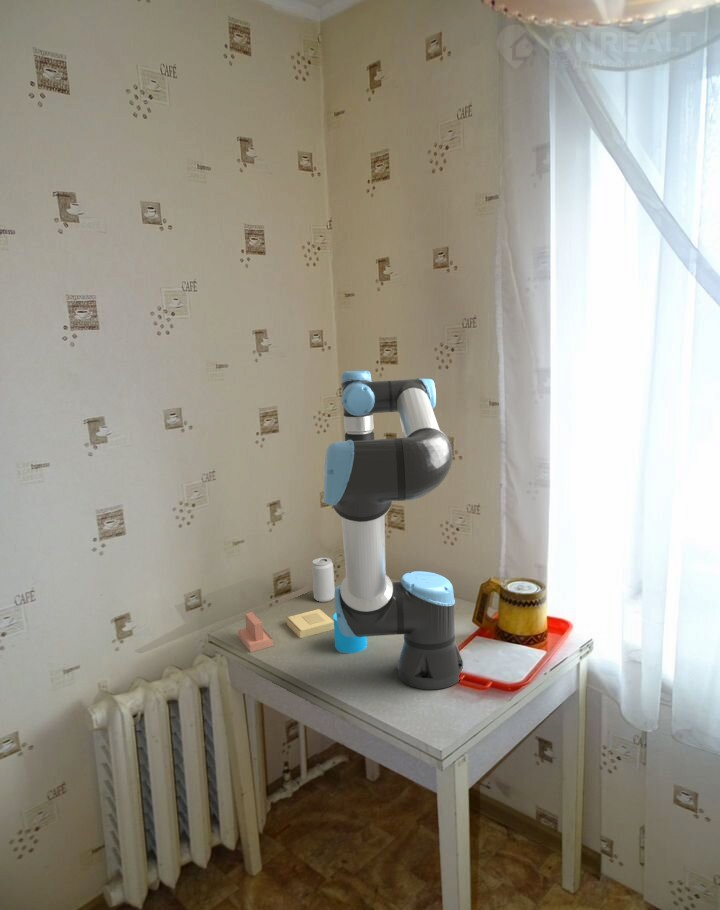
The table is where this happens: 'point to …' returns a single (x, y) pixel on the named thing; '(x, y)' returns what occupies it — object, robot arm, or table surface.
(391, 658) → the table surface
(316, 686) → the table surface
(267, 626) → the table surface
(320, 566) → the beverage can
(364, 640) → the mug
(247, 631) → the pink stepped block
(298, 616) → the tan flat square block
